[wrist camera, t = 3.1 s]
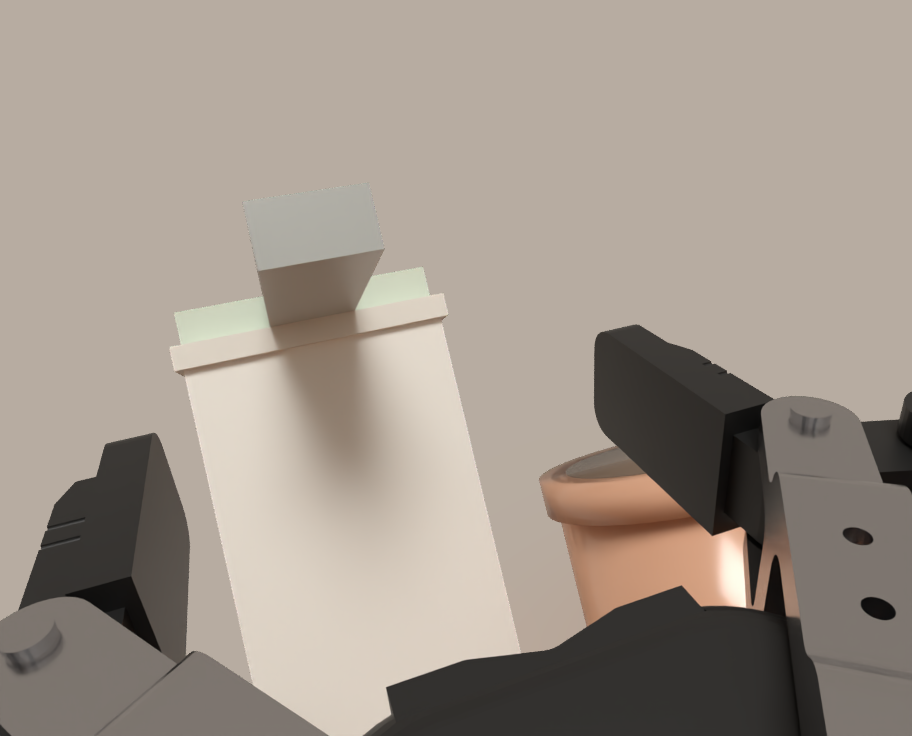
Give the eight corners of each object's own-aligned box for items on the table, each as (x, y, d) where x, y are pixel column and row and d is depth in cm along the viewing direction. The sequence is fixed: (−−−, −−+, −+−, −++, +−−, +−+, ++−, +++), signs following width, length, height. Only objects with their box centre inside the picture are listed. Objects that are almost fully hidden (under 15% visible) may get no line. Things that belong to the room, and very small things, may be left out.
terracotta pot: (802, 1239, 20) (617, 496, 21) (617, 948, 32) (503, 476, 33) (1081, 1053, 23) (908, 410, 24) (820, 849, 35) (710, 419, 36)
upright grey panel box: (349, 1163, 25) (168, 347, 27) (326, 863, 43) (219, 383, 45) (618, 1023, 28) (443, 293, 30) (492, 796, 46) (386, 347, 48)
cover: (114, 296, 18) (98, 223, 18) (218, 378, 42) (211, 347, 42) (502, 228, 20) (487, 164, 20) (389, 342, 44) (382, 312, 45)
